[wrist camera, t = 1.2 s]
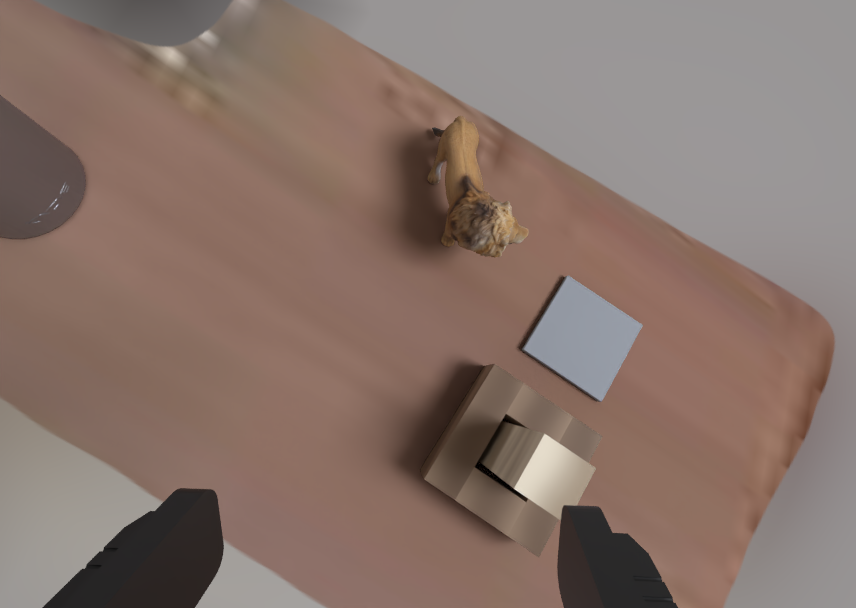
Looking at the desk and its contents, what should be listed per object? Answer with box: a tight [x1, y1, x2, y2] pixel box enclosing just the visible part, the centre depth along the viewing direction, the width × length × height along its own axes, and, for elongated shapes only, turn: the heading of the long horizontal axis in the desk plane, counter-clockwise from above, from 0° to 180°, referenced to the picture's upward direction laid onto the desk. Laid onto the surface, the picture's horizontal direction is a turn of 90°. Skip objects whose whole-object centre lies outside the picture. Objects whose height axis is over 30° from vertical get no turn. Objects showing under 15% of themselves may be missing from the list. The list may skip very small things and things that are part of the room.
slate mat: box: [522, 276, 643, 402], centre depth 38 cm, size 8×8×1 cm
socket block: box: [420, 364, 602, 557], centre depth 34 cm, size 10×10×4 cm
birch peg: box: [478, 421, 596, 520], centre depth 30 cm, size 4×4×11 cm
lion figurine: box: [428, 116, 528, 257], centre depth 35 cm, size 15×5×9 cm, turn 18°
